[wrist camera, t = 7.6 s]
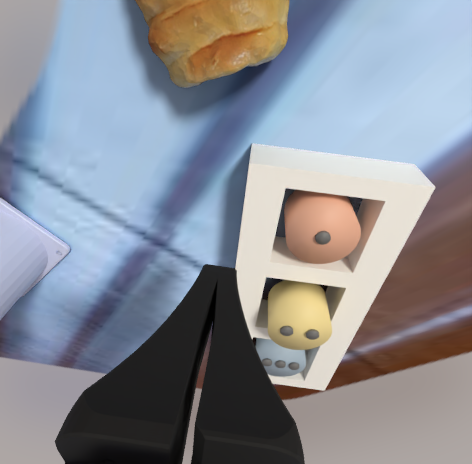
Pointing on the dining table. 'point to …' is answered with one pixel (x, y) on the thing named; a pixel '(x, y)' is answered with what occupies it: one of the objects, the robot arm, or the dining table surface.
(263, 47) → the pastry
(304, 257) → the terracotta button
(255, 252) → the button panel
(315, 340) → the mustard button
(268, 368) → the slate button
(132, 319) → the dining table surface
